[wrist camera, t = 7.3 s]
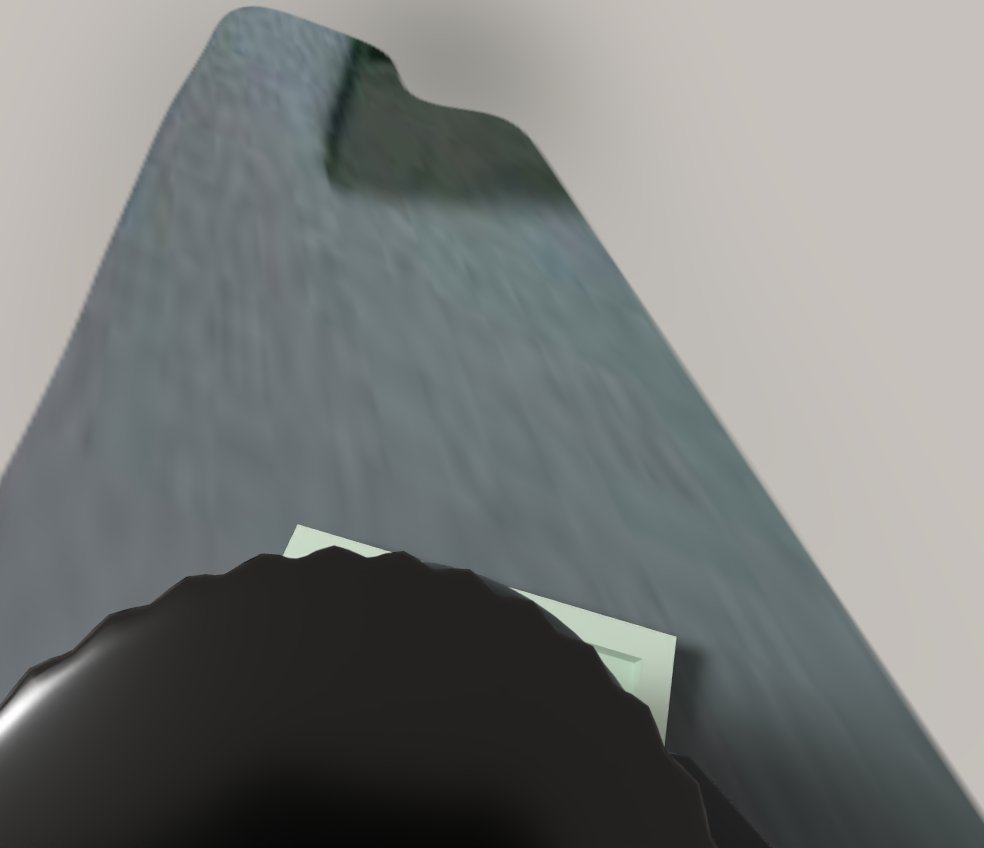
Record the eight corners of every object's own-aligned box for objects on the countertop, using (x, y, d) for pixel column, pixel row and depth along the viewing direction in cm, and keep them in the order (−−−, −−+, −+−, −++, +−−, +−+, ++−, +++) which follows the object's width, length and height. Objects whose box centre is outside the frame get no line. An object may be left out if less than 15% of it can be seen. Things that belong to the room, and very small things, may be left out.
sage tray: (593, 1217, 11) (607, 1265, 10) (84, 1020, 12) (49, 1045, 11) (661, 644, 16) (676, 637, 15) (306, 538, 17) (297, 524, 16)
